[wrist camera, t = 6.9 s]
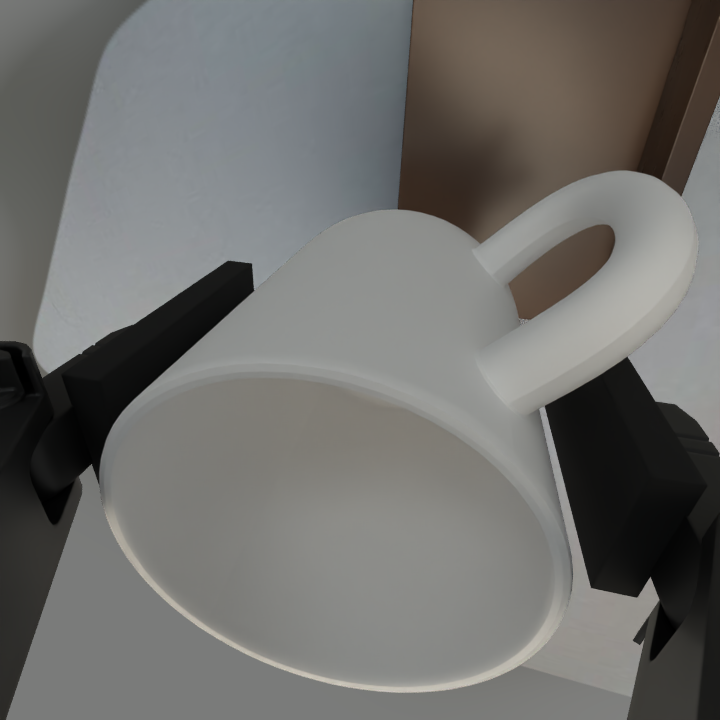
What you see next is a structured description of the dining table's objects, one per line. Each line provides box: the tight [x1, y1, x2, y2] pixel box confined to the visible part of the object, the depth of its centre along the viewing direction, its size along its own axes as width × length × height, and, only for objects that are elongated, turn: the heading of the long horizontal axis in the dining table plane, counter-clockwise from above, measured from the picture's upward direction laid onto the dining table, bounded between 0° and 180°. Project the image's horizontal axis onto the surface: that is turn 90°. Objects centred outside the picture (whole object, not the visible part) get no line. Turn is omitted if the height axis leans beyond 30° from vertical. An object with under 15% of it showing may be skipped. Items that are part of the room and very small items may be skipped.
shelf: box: [398, 0, 720, 320], centre depth 22 cm, size 16×12×8 cm
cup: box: [99, 171, 699, 693], centre depth 11 cm, size 8×12×10 cm
